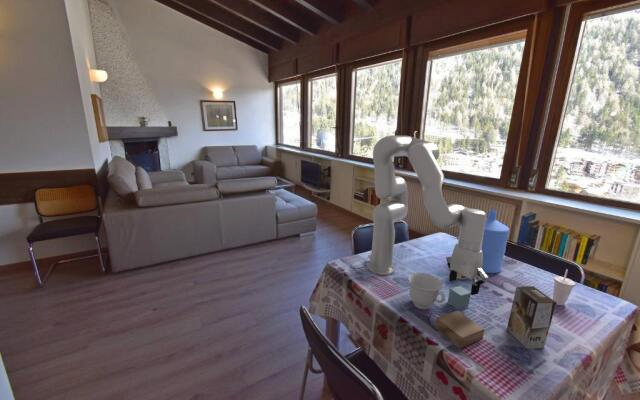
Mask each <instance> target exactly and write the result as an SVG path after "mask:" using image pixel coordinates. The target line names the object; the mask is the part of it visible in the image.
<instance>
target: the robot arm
mask: <svg viewBox="0 0 640 400" xmlns="http://www.w3.org/2000/svg"><path fill="white" fill-rule="evenodd" d="M394 157H407V158H408V161H409V163H410V164H411V166H412V169H413V171H414V172H415V175H416V176H417V178H418V180H419V182H420V184H421V187H422V199H423V203H424V207H425V210H426V212H427V214H428V215H429V218H430V219H431V221H432V223H434V224H435V226H436V227H438V228H440V229H443V230H447V229H450V228H453V227H454V226H458V225H459V233H458V234H459V235H457V236H456V240H457V243H455V245H454V248H453V250H452V254H451V256H446V258H445V260H446V262H447V263H446V265H447V266H448V271H449V275H448V276H449V277H448V282H450V283H451V282H455V281H457V279H458V278H457V272H458V273H460V274H461V275H463V276H465V277H467V278H466V279H470V280H471V281H472V283H473V284H471V288H470V293H471V295H470V296H475V295H479V293H480V288H481V285H483V284H485V283H487V281H488V280H489V279H490V277H489V275H488V274H487V273H485V272H484V271H483V270H482V264H483V253H482V250H481V247H482V241H483V235H484V229H485V223H486V219H487V213H486V212H485V211H484V210H481V209H476V208H469V207H466V206H464V205H461V204H458V203H452V204H448V205H447V202H446V201H445V199H444V196H443V193H442V192H443V191H442V188H443V187H442V186H443V183H444V180H445V174H444V173H443V171H442V169H441V167H440V165H439V163H438V162H437V160H438V159H439V157H440V150H439V148H438V146H437V145H436V144H435V143H433V142H431V141H427V140H424V139H420V138H417V137H413V136H410V135H388V136H384V137H382V138H380V139H379V140H378V141H377V142H376V143H375V144H374V147H373V150H372V162H373V167H374V168H373V169H374V170H373V171H374V191H375V195H376V197H377V198H378V199H380V200H388V201H385V202H382V203H379V204H377V205H376V206H375V207H374V209H373V211H372V219H373V220H372V221H373V223H372V224H373V233H372V244H371V253H370V254H368V256H367V257H368V258H369V261H368V262H367V263H366V269H367V271H369V272H370V273H371V274H374V275H378V276H390V275H392V274H394V273H395V270H396V267H395V266H394V265H393V259H394V258H393V257H394V256H393V255H394V249H395V241H396V240H395V239H396V230H395V226H394V224H395V223H396V222H398V221H401V220H403V219H404V218H405V217H406V216H408V215H407V214H408V213H409V212H408V211H409V205H408V203H409V201H408V200H409V199H408V198H409V197H408V196H409V195H408V194H409V193H408V184H407V182H406V181H405V179H404V178H403V177H401V176H400V175H396V174H395V173H396V171H395V170H396V169H395V164H394V162H393V159H392V158H394Z"/></svg>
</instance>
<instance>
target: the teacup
mask: <svg viewBox="0 0 640 400" xmlns="http://www.w3.org/2000/svg"><path fill="white" fill-rule="evenodd" d="M407 281H408V282H409V296H410V300H411V301H412V302H413V305H414V307H416V308H418V309H419V310H427V309H430V307H431V306H432V305H434V304H435V303H436V304H443V303H444V302H445V300H446V294H445V292H444V291H442V290H441V289H442V288H443V286H444V285H443V283H442V281H441V280H440V278H438V277H436V276H434V275H431V274H428V273H424V272H413V273H411V274H409V275H408V276H407ZM439 295H440V296H441V298H440V299H437V298H438V296H439Z"/></svg>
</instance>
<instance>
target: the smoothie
mask: <svg viewBox="0 0 640 400" xmlns="http://www.w3.org/2000/svg"><path fill="white" fill-rule="evenodd" d="M568 271H569V269H567V268H566V269H565V272H564V275H563V276H554V278H553V281H554V284H553V290H552V300H554V301H555V302H557V303H556V305H557V304H558V305H557V306H561V305H563V306H565V305H566V302H567V301H568V298H569V297H570V294H571V293H572V290H573V289H574V288H575V287H576V282H575V281H573V280H572V279H571V278H567V275H568Z"/></svg>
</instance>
